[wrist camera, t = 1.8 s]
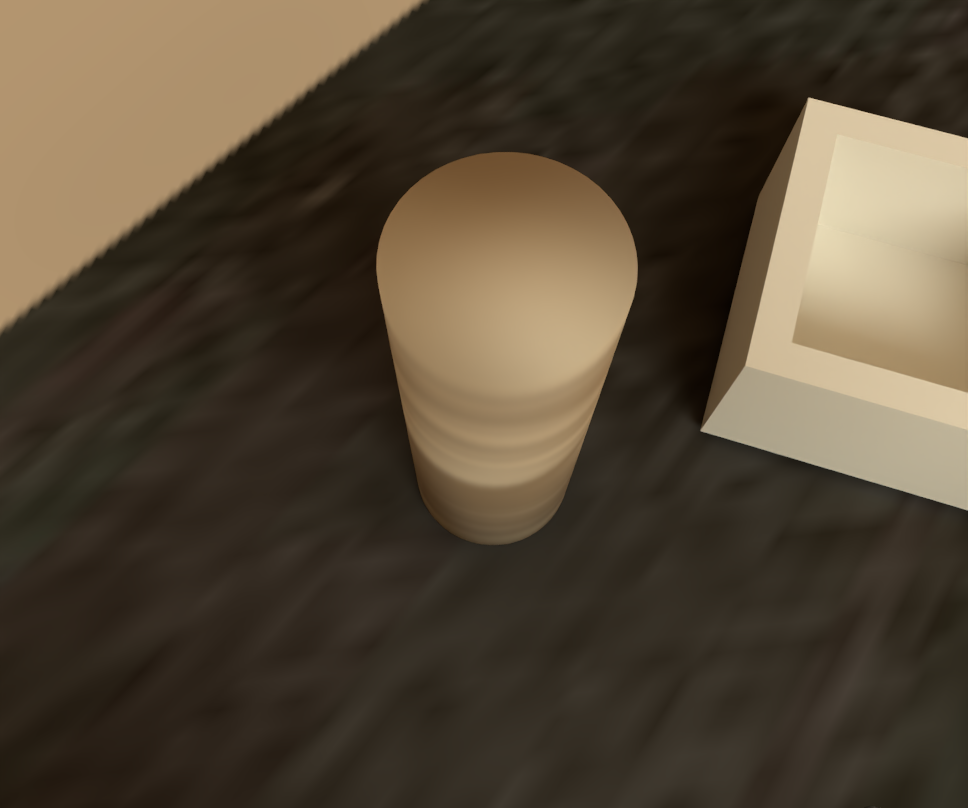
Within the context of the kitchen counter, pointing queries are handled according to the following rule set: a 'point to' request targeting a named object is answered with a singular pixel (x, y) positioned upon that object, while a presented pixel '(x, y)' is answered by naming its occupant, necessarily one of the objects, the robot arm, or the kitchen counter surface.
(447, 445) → the wick dowel
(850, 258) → the cream square tray
